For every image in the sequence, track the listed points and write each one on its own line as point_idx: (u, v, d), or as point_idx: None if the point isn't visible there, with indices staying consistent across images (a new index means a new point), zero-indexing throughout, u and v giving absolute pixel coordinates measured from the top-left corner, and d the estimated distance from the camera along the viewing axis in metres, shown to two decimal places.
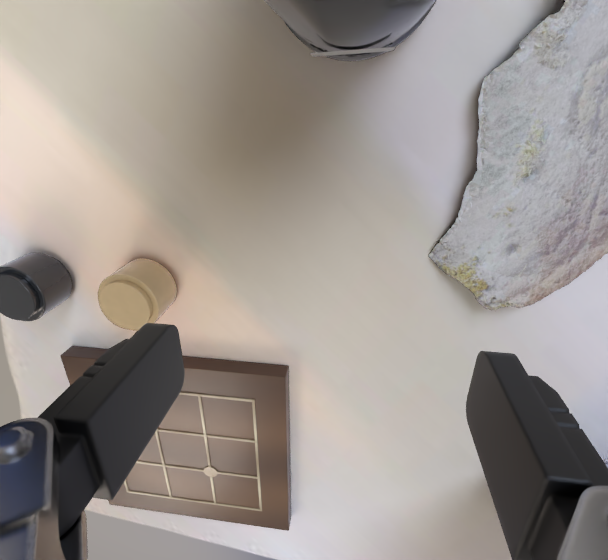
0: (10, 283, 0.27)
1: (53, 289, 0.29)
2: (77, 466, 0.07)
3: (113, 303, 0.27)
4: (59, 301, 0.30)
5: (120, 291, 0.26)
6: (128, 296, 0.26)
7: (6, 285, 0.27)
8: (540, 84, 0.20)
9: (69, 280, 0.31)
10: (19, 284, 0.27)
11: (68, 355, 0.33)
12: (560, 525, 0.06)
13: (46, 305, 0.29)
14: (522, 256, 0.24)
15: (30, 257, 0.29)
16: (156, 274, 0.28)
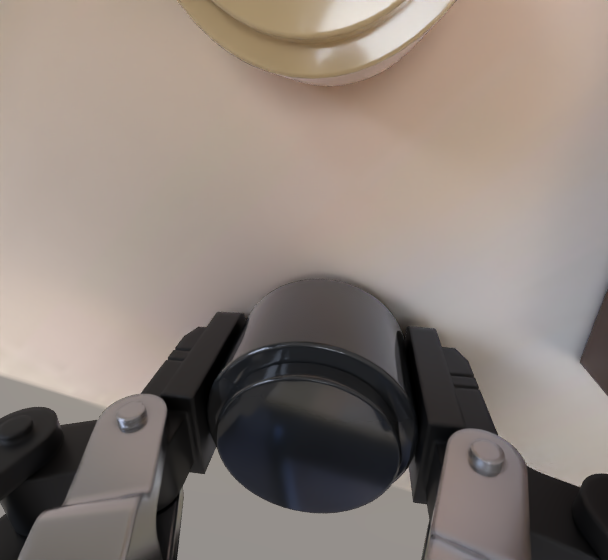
0: (243, 429, 0.08)
1: (311, 315, 0.08)
2: (182, 439, 0.08)
3: None
4: (374, 321, 0.09)
5: None
6: None
7: (254, 443, 0.08)
8: None
9: (320, 280, 0.10)
10: (244, 402, 0.07)
11: None
12: (438, 463, 0.07)
13: (350, 348, 0.07)
14: None
15: None
16: None
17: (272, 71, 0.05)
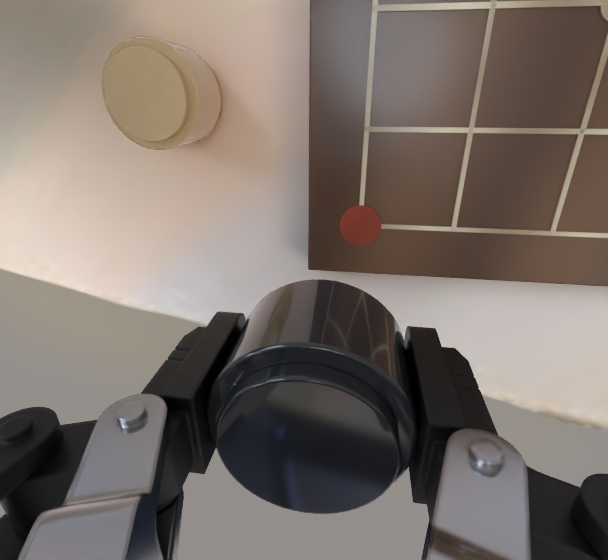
0: (243, 430, 0.08)
1: (311, 316, 0.08)
2: (182, 439, 0.08)
3: (142, 114, 0.17)
4: (374, 322, 0.09)
5: (118, 96, 0.17)
6: (123, 84, 0.17)
7: (254, 444, 0.08)
8: None
9: (320, 281, 0.10)
10: (244, 403, 0.07)
11: (308, 257, 0.22)
12: (438, 463, 0.07)
13: (350, 350, 0.07)
14: None
15: None
16: None
17: (147, 147, 0.18)
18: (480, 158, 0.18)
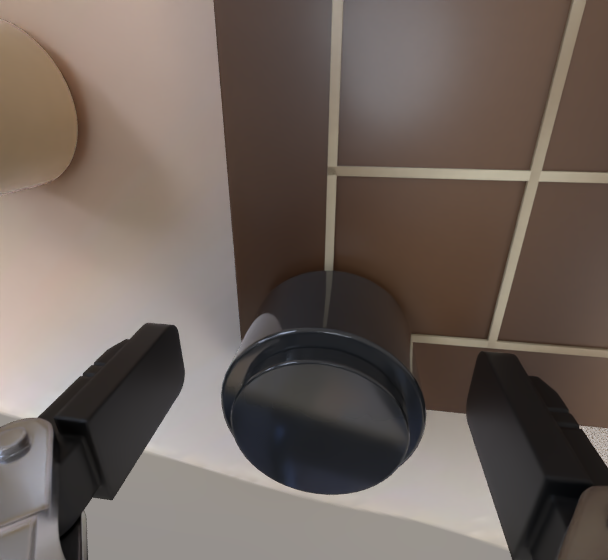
0: (258, 412, 0.08)
1: (322, 303, 0.08)
2: (77, 466, 0.07)
3: None
4: (382, 310, 0.09)
5: None
6: None
7: (268, 426, 0.08)
8: None
9: (329, 271, 0.10)
10: (259, 385, 0.08)
11: None
12: (560, 525, 0.06)
13: (360, 334, 0.08)
14: None
15: None
16: None
17: None
18: (548, 227, 0.10)
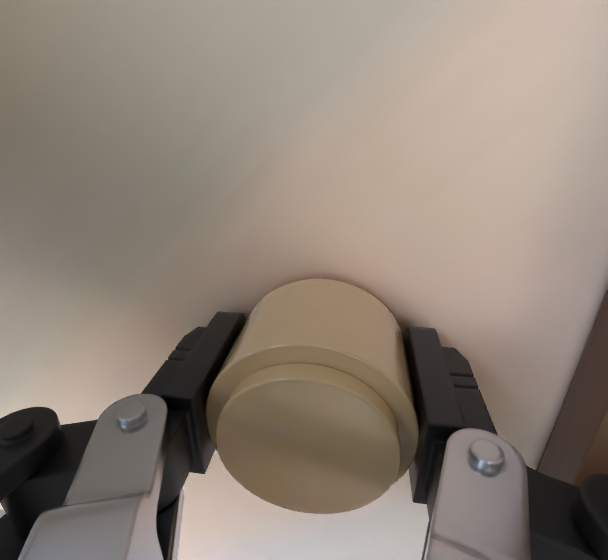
0: None
1: None
2: (183, 439, 0.08)
3: (294, 477, 0.08)
4: None
5: (245, 446, 0.08)
6: (262, 431, 0.08)
7: None
8: None
9: None
10: None
11: None
12: (438, 463, 0.07)
13: None
14: None
15: None
16: (249, 323, 0.09)
17: None
18: None
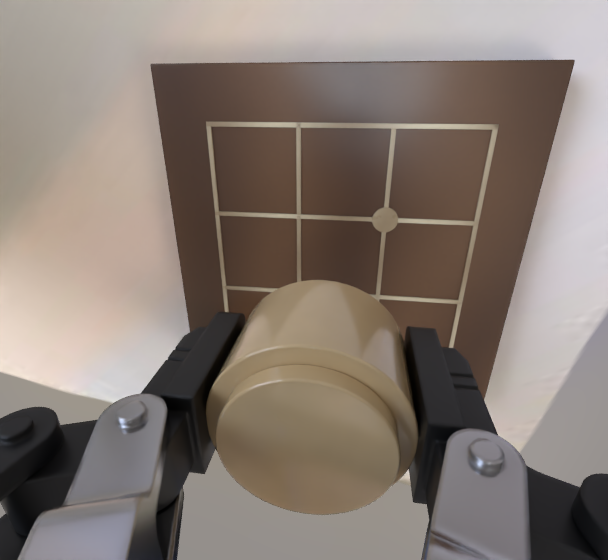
0: None
1: None
2: (182, 439, 0.08)
3: (294, 478, 0.08)
4: None
5: (245, 447, 0.08)
6: (262, 432, 0.08)
7: None
8: None
9: None
10: None
11: None
12: (438, 463, 0.07)
13: None
14: None
15: None
16: (249, 324, 0.09)
17: None
18: None
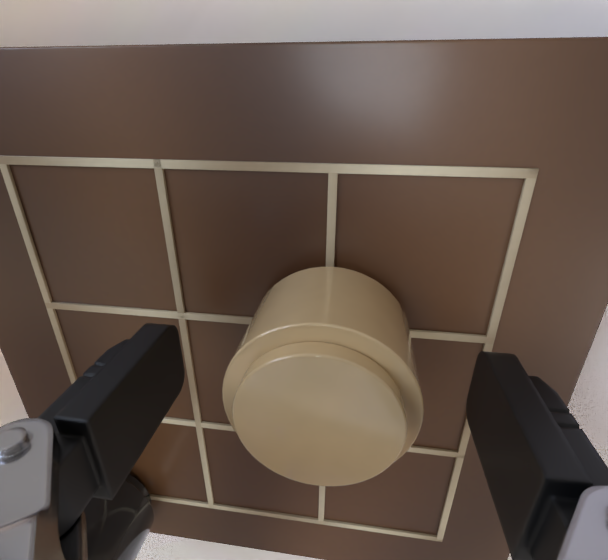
0: None
1: None
2: (77, 466, 0.07)
3: (306, 451, 0.09)
4: (104, 507, 0.14)
5: (261, 421, 0.08)
6: (277, 405, 0.08)
7: None
8: None
9: None
10: None
11: None
12: (560, 525, 0.06)
13: None
14: None
15: None
16: (262, 307, 0.10)
17: None
18: (219, 448, 0.15)
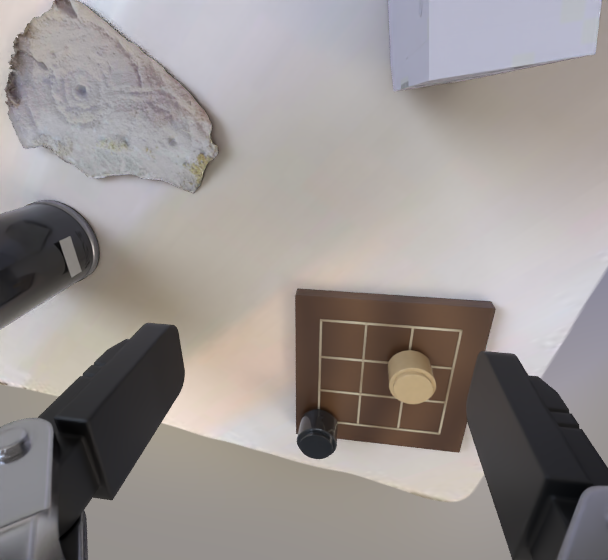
0: (305, 443, 0.43)
1: (317, 421, 0.43)
2: (77, 466, 0.07)
3: (409, 395, 0.38)
4: (329, 421, 0.44)
5: (400, 388, 0.38)
6: (404, 385, 0.38)
7: (306, 445, 0.43)
8: (80, 148, 0.37)
9: (318, 410, 0.45)
10: (305, 438, 0.43)
11: (296, 429, 0.48)
12: (560, 525, 0.06)
13: (323, 429, 0.43)
14: (175, 134, 0.35)
15: (299, 426, 0.45)
16: (396, 361, 0.39)
17: None
18: (365, 402, 0.45)
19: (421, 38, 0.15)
